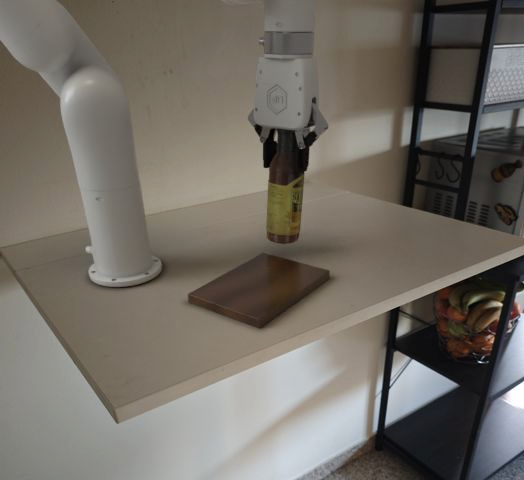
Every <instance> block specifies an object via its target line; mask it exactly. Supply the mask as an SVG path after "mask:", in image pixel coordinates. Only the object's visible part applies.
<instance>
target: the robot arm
mask: <svg viewBox="0 0 524 480" xmlns="http://www.w3.org/2000/svg"><path fill="white" fill-rule="evenodd" d="M220 2H222V3H224V4H226V5H228V6H234V7H235V6H236V7H239V6H240V7H241V6H245V5H252V4H257V3H263V31H264V32H263V36H260V37H259V39H258V45H259V47H260V48H261V47H262V48H263V55H262V56H261V55H260V56H259V58H258V61H257V66H256V67H257V68H256V72H255V73H256V74H255V82H254V83H255V84H254V95H253V108H252V110H251V111H250V112H249V114H248V116H247V120H248V122H249V123H250V124H251V126H252V127H253V128H254V131H255V133H256V134H257V135H258V137H259V141H260V144H262V162H263V165H262V166H263V169H269V167H270V163H271V161H272V158H273V157H274V156H275V154H276V152H277V140H275V138H276V135H277V128H279V129H287V130H294V131H295V135H296V139H297V143H298V148H296V149H295V158H294V173H295V174H300V173H302V172H304V173H305V172H307V171H308V167H309V165H310V147H313V145H314V143H315V142H316V141H317V140H318V139H319V138H320V137H321V136H322V135H323V134H324V133H325V132H326V131H327V130H328V129H329V124H328V122H327V120H326V118H325V117H324V115H323V113H322V112H321V110H320V83H319V82H320V81H319V70H318V61H317V57H314V45H315V44H314V43H315V25H316V23H315V22H316V4H317V0H220ZM0 42H1V43H2V45H4V47H5V48H6V49H7V51H8V52H9V53H10V54H11V56H12V57H13V58H14V59H15V60H16V61H17V62H19V64H20V65H22V66H23V67H25V68H26V69H28V70H31V71H33V72H37V73H38V74H39V75H40V77H41V78H42V79H43V80H44V81H45V82H46V84H47V85H48V86H49V87H50V88H51V89H52V91H53V92H54V93H55V94H56V95H57V96H58V97H59V107H60V115H61V120H62V124H63V128H64V131H65V135H66V139H67V143H68V147H69V150H70V153H71V158H72V162H73V166H74V170H75V176H76V179H77V184H78V187H79V191H80V196H81V200H82V205H83V211H84V214H85V219H86V223H87V227H88V233H89V237H90V243H91V245H87V246H86V247H85V253H87V254H90V255H92V258H93V263H92V264H91V265H90V267H88V276H89V280H91V281H92V282H93V283H95V284H96V285H99V286H104V287H110V288H123V287H125V288H126V287H131V286H137V285H141V284H144V283H146V282H149V281H152V280H153V279H155V278H156V277H158V275H160V273H161V272H162V271H163V265H162V260H161V259H160V258H159V257H157V256H156V255H153V254H152V250H151V244H150V237H149V231H148V224H147V223H148V222H147V217H146V210H145V203H144V198H143V197H144V196H143V191H142V185H141V179H140V178H141V177H140V172H139V166H138V159H137V152H136V146H135V145H136V144H135V138H134V129H133V121H132V114H131V106H130V103H129V97H128V94H127V91H126V88H125V86H124V84H123V82H122V80H121V79H120V78H119V76H118V75H117V74H116V72H115V71H114V70H113V68H112V66H110V64H109V63H108V62H107V61H106V59H105V58H104V57H103V55H102V54H101V52H100V51H99V50H98V48H97V47H96V46H95V44H93V42H92V41H91V40H90V38H89V37H88V35H87V34H86V33H85V31H84V30H83V29H82V28H81V26H80V25H79V24H78V22H77V21H76V19H74V17H73V16H72V14H70V12H69V10H68V9H66V8H65V6H64V5H63V4H61V3H60V2H59V1H58V0H0ZM312 127H313V129H312V130H311V128H312Z"/></svg>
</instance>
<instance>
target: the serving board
mask: <svg viewBox="0 0 524 480" xmlns="http://www.w3.org/2000/svg"><path fill="white" fill-rule="evenodd" d="M330 272H331V271H330V270H329V269H325V268H322V267H319V266H314V265H310V264H307V263H304V262H299V261H295V260H292V259H288V258H285V257H282V256H279V255H278V256H277V255H274V254H270V253H266V252H261V253H259V254H258V255H256V256H254V257H252V258H251V259H249V260H247V261H245V262H243V263H241V264H240V265H237V266H235V267H234V268H233V269H231V270H228V271H226V272H225V273H223V274H222V275H220V276H218V277H216V278H214V279H212V280H211V281H209V282H207V283H206V284H203V285H202V286H200V287H197V288H196V289H195V290H193V291H190V292H189V293H187V300H188V303H190V304H191V305H195V306H198V307H199V308H203V309H205V310H209V311H211V312H214V313H217V314H219V315H222V316H225V317H227V318H231V319H232V320H236V321H238V322H241V323H244V324H247V325H249V326H252V327H254V328H258V329H261V328H262V327H264V326H265V325H266V324H268V323H269V322H271V321H272V320H273V319H275V318H276V317H277V316H279V315H280V314H282V313H283V312H285V311H286V310H287V309H289V308H290V307H292V306H294V304H296V303H298V302H299V301H300V300H301V299H303V298H304V297H306V296H307V295H309V294H310V293H311V292H313V291H314V290H315V289H316V288H318V287H320V286H321V285H322V284H324V283H325V282H327V281H328V280H329V279H330V274H331V273H330Z"/></svg>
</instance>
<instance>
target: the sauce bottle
mask: <svg viewBox="0 0 524 480" xmlns="http://www.w3.org/2000/svg"><path fill="white" fill-rule="evenodd" d="M276 135H277V140H276V141H277V152H276V154H275V156H274V157H273V158H272V161H271V163H270V167H269V168H268V172H269V173H268V180H267V201H266V202H267V203H266V224H265V225H266V226H265V228H266V238H267V239H268V240H269V241H270V242H272V243H274V244H283V245H287V244H294V243H295V242H297V241H298V240H299V238H300V233H301V225H302V213H303V201H304V200H303V199H304V187H305V185H304V184H305V172H302V173H300V174H295V173H294V158H295V149H296V148H298V143H297V139H296V135H295V131H294V130H287V129H279V128H277V132H276Z"/></svg>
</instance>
